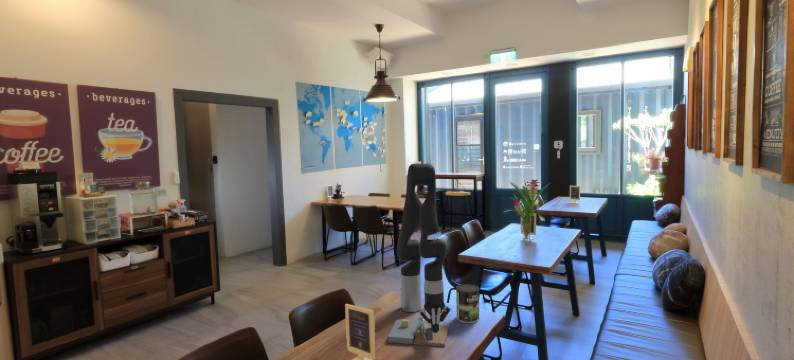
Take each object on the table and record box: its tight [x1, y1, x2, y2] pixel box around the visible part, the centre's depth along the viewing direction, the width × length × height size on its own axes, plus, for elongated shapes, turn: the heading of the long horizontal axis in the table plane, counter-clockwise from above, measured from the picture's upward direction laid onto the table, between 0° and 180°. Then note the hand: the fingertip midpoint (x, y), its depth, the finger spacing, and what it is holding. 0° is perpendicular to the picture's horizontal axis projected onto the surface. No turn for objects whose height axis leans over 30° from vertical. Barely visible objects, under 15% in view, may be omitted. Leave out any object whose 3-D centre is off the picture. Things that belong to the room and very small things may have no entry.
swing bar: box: [417, 317, 433, 341], centre depth 168 cm, size 12×3×4 cm, turn 14°
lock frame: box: [387, 318, 449, 348], centre depth 173 cm, size 16×22×5 cm
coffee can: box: [455, 283, 480, 324], centre depth 187 cm, size 10×10×14 cm
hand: (435, 332), depth 165 cm, fingers closed
